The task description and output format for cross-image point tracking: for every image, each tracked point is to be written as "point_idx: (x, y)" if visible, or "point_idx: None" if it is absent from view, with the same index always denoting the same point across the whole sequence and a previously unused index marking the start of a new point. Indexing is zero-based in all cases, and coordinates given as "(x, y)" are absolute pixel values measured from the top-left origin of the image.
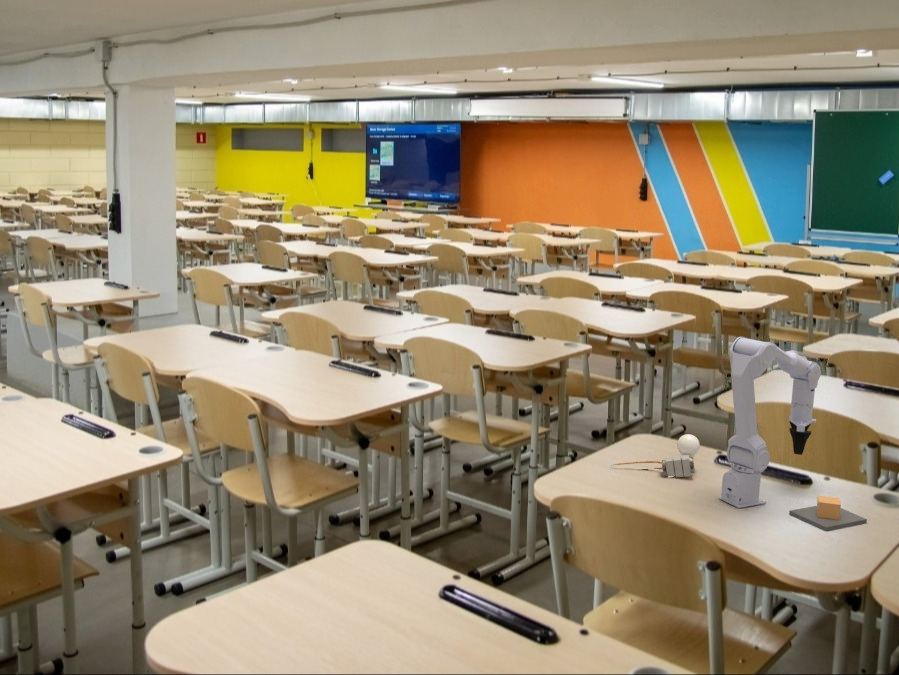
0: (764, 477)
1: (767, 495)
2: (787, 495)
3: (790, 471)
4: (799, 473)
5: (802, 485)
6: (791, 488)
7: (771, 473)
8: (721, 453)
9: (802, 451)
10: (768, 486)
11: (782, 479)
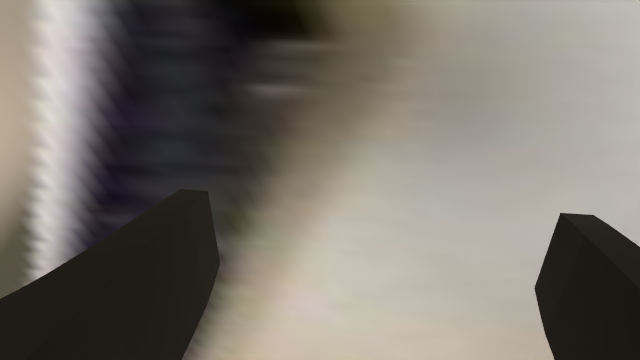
0: (288, 227)
1: None
2: (599, 128)
3: (91, 91)
4: (94, 36)
5: (351, 24)
6: (443, 98)
7: None
8: None
9: (630, 248)
10: (443, 217)
11: (278, 142)
